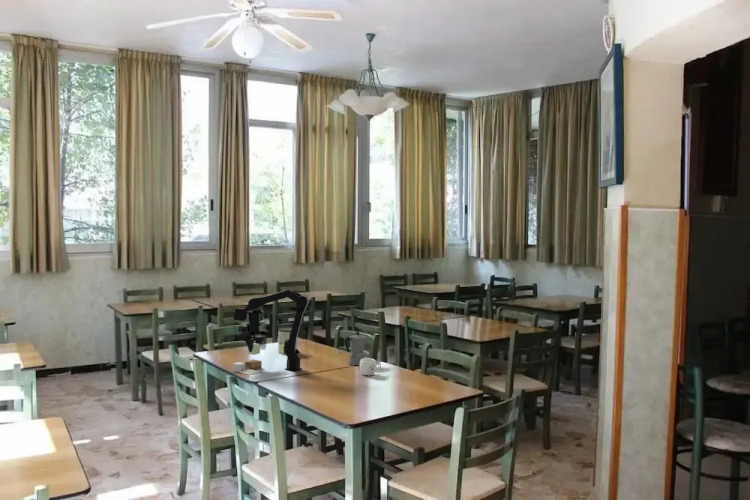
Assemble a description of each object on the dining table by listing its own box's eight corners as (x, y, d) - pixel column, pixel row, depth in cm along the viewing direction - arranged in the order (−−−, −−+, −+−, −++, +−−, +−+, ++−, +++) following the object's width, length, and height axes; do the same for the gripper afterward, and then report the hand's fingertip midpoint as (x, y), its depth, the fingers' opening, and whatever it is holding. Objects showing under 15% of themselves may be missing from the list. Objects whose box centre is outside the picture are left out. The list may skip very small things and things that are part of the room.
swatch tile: (259, 372, 328) (259, 371, 328) (249, 374, 322) (249, 373, 322) (249, 370, 332) (249, 369, 332) (239, 372, 326) (239, 371, 326)
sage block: (259, 353, 337) (260, 344, 336) (253, 354, 333) (254, 345, 332) (253, 352, 339) (253, 342, 339) (247, 353, 335) (247, 344, 335)
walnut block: (261, 368, 337) (261, 360, 337) (254, 370, 332) (254, 362, 332) (252, 366, 340) (252, 359, 340) (245, 369, 335) (245, 361, 335)
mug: (363, 377, 324) (364, 362, 324) (356, 373, 331) (356, 358, 331) (384, 375, 330) (385, 360, 329) (377, 371, 337) (377, 356, 337)
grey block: (245, 370, 331) (245, 363, 331) (240, 372, 327) (240, 364, 327) (237, 369, 333) (237, 362, 332) (232, 371, 328) (232, 363, 328)
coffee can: (280, 350, 383) (280, 326, 382) (297, 351, 382) (297, 327, 381) (275, 354, 373) (276, 329, 372) (293, 354, 372) (293, 330, 371)
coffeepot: (361, 361, 361) (361, 329, 360) (371, 364, 354) (372, 331, 353) (338, 364, 351) (339, 331, 350) (349, 367, 344) (350, 334, 343)
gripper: (255, 317, 347) (254, 346, 348) (230, 322, 331) (229, 352, 332) (270, 320, 341) (270, 349, 342) (246, 324, 325) (245, 355, 326)
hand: (253, 351), depth 336 cm, fingers closed on sage block, 4 cm apart
